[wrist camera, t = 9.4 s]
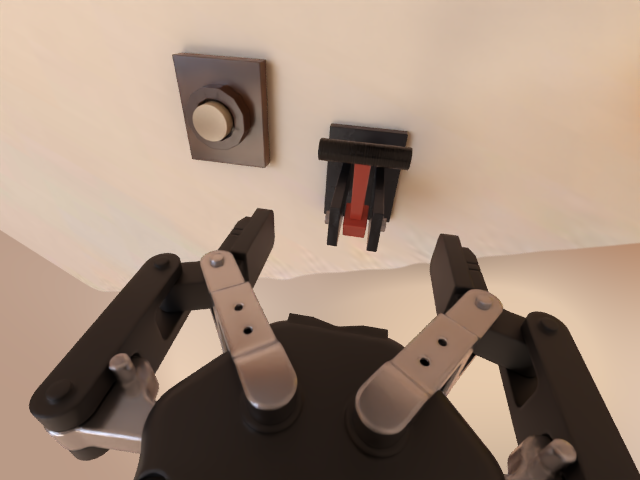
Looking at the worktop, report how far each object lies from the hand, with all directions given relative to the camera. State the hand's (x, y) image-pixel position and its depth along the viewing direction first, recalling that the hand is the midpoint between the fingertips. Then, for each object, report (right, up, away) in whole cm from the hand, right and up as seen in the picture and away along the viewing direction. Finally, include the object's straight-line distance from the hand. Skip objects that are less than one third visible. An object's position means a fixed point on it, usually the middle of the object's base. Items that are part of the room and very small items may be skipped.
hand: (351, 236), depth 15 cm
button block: (-13, +16, +24) cm, 31 cm away
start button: (-13, +14, +21) cm, 29 cm away
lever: (+2, +5, +12) cm, 13 cm away
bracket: (+4, +8, +26) cm, 27 cm away
